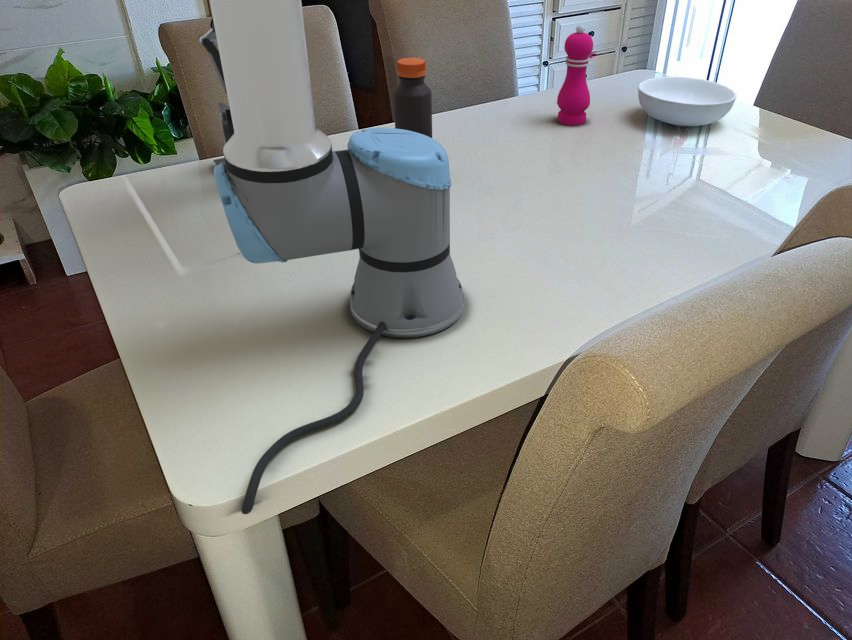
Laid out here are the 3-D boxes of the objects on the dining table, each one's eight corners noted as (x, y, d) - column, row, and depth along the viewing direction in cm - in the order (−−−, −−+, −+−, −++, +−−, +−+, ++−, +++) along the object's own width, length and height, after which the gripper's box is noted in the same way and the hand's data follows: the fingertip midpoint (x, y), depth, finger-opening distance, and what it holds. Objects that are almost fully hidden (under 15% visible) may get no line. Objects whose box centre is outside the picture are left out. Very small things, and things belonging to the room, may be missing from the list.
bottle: (394, 166, 135) (388, 57, 123) (428, 163, 136) (426, 55, 124) (400, 180, 130) (395, 67, 118) (436, 177, 131) (434, 65, 119)
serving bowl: (725, 141, 147) (733, 108, 143) (626, 128, 153) (630, 96, 149) (732, 112, 163) (740, 81, 159) (642, 101, 169) (646, 71, 165)
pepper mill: (548, 120, 157) (556, 24, 145) (569, 113, 161) (578, 19, 149) (573, 128, 153) (583, 30, 141) (594, 121, 157) (605, 24, 145)
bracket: (283, 179, 130) (272, 109, 122) (235, 189, 126) (220, 118, 118) (260, 157, 138) (249, 91, 130) (214, 166, 134) (200, 98, 127)
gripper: (265, -25, 110) (287, 124, 124) (180, -18, 104) (213, 138, 119) (282, -18, 105) (303, 137, 119) (194, -10, 99) (226, 152, 114)
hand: (258, 137), depth 119 cm, fingers closed
